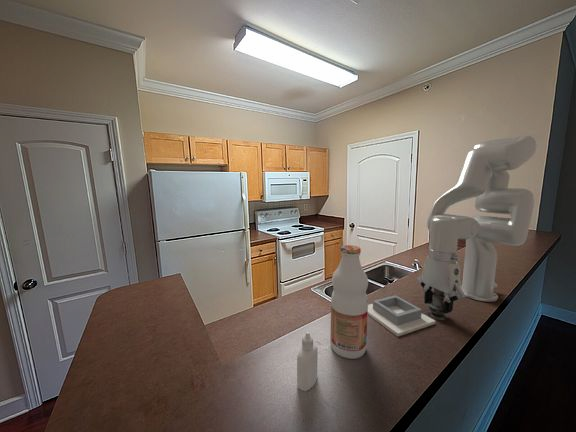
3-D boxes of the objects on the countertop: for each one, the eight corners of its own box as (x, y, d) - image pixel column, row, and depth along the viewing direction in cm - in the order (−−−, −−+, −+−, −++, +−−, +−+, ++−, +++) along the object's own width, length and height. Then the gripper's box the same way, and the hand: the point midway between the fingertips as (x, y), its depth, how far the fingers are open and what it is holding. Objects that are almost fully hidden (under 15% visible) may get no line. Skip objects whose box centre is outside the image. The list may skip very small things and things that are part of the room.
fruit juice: (324, 339, 65) (325, 244, 61) (353, 333, 68) (356, 241, 64) (340, 363, 56) (343, 254, 52) (373, 355, 59) (378, 250, 55)
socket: (394, 300, 87) (395, 290, 86) (435, 323, 72) (436, 312, 71) (360, 309, 81) (361, 298, 80) (397, 336, 66) (398, 323, 65)
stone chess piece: (450, 321, 73) (454, 286, 71) (430, 319, 74) (433, 284, 73) (442, 311, 79) (445, 278, 77) (423, 309, 80) (426, 277, 78)
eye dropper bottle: (292, 378, 52) (291, 330, 50) (313, 370, 54) (313, 323, 52) (300, 394, 48) (300, 342, 46) (323, 384, 50) (324, 334, 49)
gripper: (479, 261, 67) (473, 318, 70) (425, 247, 83) (421, 294, 85) (463, 265, 64) (457, 324, 67) (410, 249, 80) (407, 297, 83)
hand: (437, 306), depth 76 cm, fingers closed on stone chess piece, 5 cm apart
